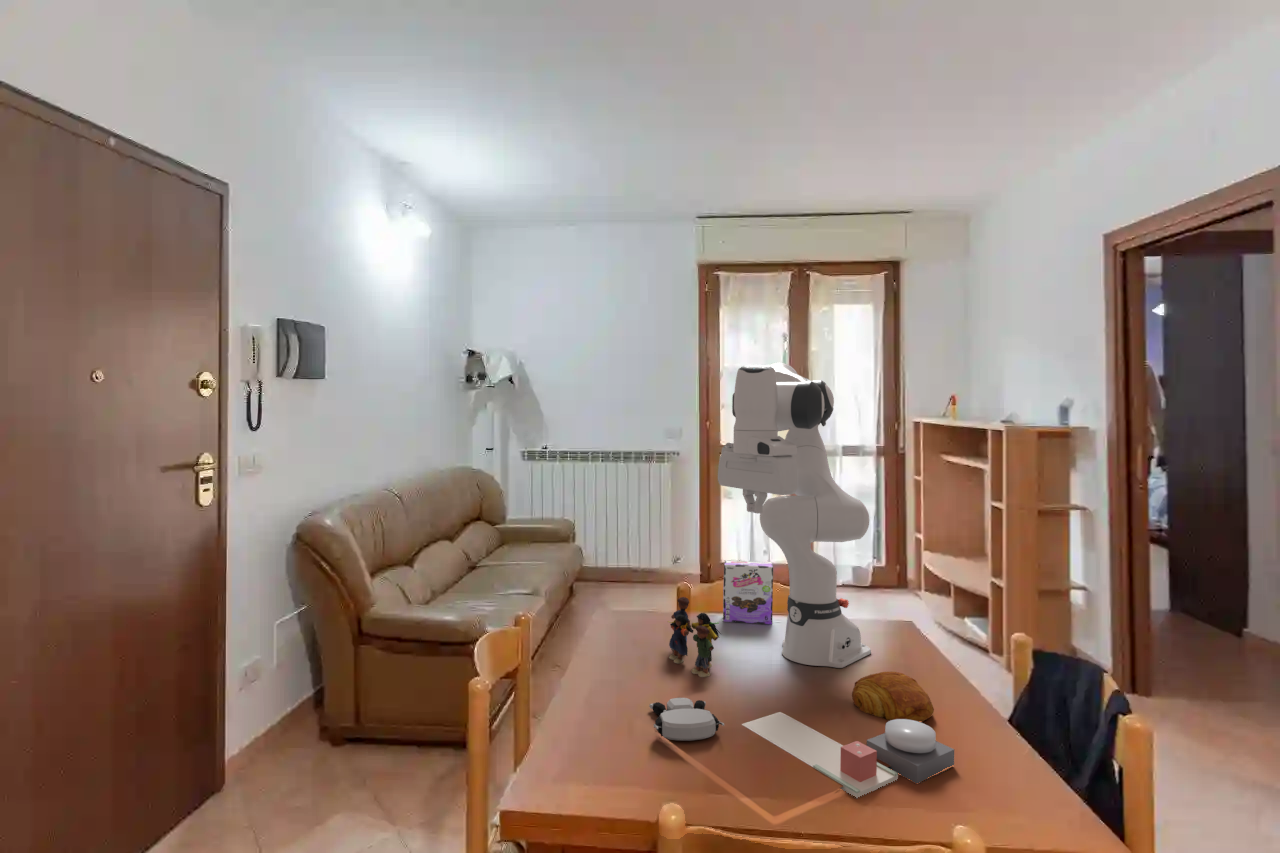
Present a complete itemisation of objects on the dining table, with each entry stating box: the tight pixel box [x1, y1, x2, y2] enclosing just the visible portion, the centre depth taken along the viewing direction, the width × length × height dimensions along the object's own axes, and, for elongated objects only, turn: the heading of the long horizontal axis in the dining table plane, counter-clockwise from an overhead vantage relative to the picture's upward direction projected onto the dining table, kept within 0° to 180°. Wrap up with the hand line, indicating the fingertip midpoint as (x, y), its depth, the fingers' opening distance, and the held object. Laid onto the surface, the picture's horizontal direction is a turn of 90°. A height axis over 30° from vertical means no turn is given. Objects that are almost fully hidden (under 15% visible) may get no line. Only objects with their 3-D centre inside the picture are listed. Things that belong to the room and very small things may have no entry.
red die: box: [840, 740, 878, 782], centre depth 112 cm, size 4×4×4 cm
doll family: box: [667, 596, 723, 678], centre depth 163 cm, size 23×9×13 cm, turn 35°
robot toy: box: [648, 697, 725, 741], centre depth 128 cm, size 12×4×15 cm
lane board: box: [740, 711, 899, 799], centre depth 119 cm, size 13×27×1 cm, turn 33°
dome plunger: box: [884, 719, 937, 753], centre depth 117 cm, size 8×8×4 cm
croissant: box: [851, 671, 935, 722], centre depth 137 cm, size 14×16×8 cm
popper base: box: [866, 732, 955, 784], centre depth 117 cm, size 10×10×3 cm
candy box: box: [722, 559, 774, 625], centre depth 193 cm, size 14×6×16 cm, turn 81°
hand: (754, 512), depth 139 cm, fingers closed
